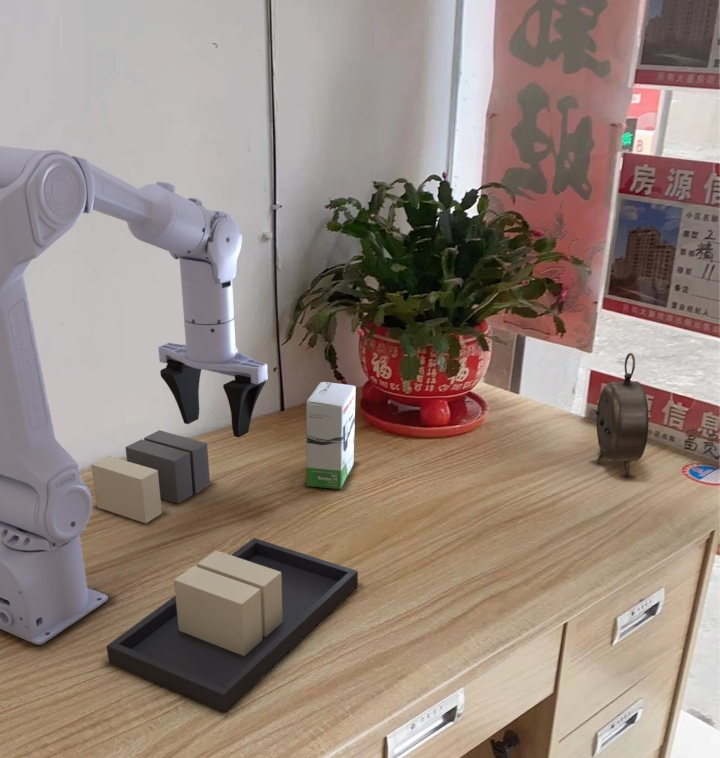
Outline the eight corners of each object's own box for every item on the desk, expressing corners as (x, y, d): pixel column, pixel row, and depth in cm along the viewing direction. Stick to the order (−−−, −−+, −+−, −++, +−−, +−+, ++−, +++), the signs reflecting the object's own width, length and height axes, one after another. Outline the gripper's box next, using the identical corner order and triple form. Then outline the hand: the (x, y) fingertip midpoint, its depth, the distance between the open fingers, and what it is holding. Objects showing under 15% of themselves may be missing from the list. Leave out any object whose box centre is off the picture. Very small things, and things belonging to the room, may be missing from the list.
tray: (224, 712, 77) (223, 694, 76) (108, 662, 83) (106, 645, 82) (357, 586, 96) (358, 570, 95) (254, 552, 101) (254, 537, 100)
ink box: (341, 490, 116) (342, 405, 110) (305, 486, 116) (304, 402, 111) (355, 463, 123) (356, 382, 118) (320, 459, 124) (320, 379, 118)
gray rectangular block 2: (195, 493, 114) (192, 451, 111) (148, 479, 117) (143, 437, 115) (210, 484, 116) (207, 443, 114) (163, 470, 120) (159, 430, 117)
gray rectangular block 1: (178, 504, 111) (174, 461, 109) (129, 489, 115) (125, 446, 112) (193, 494, 114) (189, 452, 111) (145, 480, 117) (141, 438, 114)
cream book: (145, 523, 107) (141, 479, 104) (96, 507, 110) (90, 464, 107) (162, 513, 109) (157, 470, 106) (113, 498, 112) (108, 455, 110)
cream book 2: (265, 637, 86) (263, 586, 83) (200, 613, 90) (196, 563, 87) (282, 622, 89) (281, 571, 86) (219, 599, 92) (215, 549, 89)
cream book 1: (244, 656, 84) (241, 604, 81) (178, 630, 87) (173, 579, 84) (262, 640, 86) (260, 588, 83) (197, 615, 89) (193, 565, 86)
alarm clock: (641, 481, 120) (663, 367, 112) (601, 480, 120) (621, 366, 112) (621, 448, 130) (640, 341, 122) (585, 447, 130) (601, 340, 122)
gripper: (281, 319, 101) (283, 429, 108) (182, 301, 107) (190, 405, 114) (244, 334, 96) (249, 449, 102) (142, 314, 102) (153, 423, 108)
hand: (215, 427), depth 108 cm, fingers open, 7 cm apart
